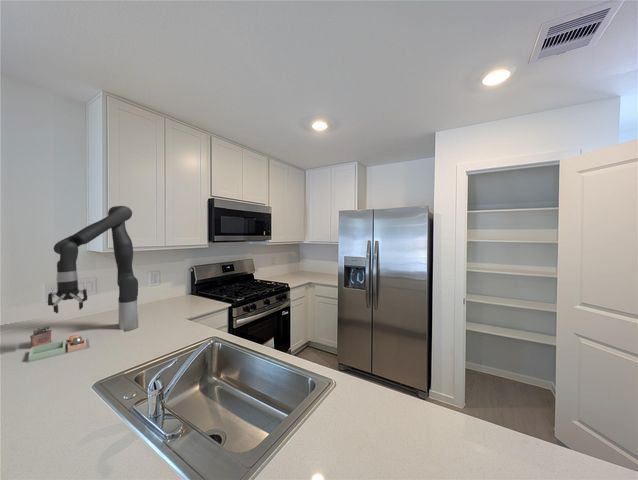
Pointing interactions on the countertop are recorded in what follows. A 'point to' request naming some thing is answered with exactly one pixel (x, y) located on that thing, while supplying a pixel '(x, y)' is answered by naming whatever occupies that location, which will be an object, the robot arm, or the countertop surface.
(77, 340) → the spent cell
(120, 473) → the countertop surface
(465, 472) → the countertop surface
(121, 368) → the countertop surface
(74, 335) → the button
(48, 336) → the lighter
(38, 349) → the divided organizer tray
